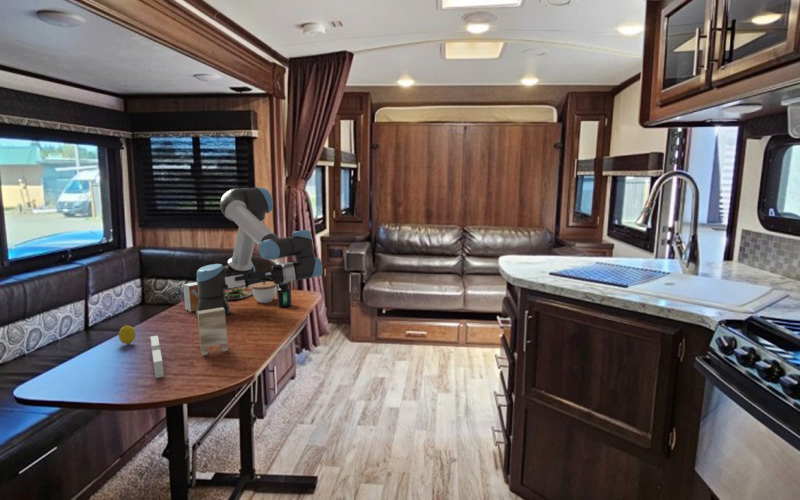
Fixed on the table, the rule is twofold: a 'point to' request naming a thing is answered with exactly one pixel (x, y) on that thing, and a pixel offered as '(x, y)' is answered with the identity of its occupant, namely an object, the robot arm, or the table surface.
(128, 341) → the lemon
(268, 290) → the lidded bowl
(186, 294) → the small box
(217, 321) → the slotted tab
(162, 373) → the notched board
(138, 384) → the table surface
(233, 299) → the salad plate
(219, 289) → the robot arm
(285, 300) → the supplement bottle
